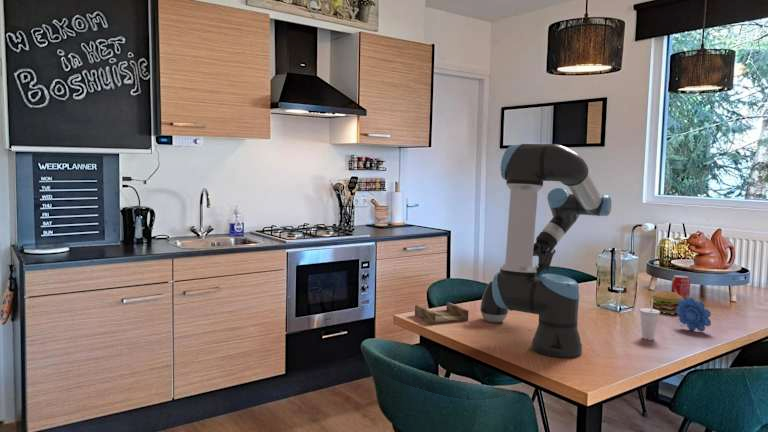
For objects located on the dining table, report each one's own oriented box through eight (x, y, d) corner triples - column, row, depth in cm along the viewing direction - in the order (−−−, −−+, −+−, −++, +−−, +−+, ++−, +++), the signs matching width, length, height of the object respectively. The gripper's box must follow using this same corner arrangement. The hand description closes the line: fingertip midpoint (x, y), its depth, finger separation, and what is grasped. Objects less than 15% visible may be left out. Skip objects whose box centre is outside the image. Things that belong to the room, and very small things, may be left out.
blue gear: (670, 329, 205) (673, 296, 204) (676, 325, 210) (678, 294, 209) (706, 336, 197) (709, 302, 196) (712, 332, 202) (714, 299, 201)
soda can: (672, 300, 252) (673, 274, 251) (690, 303, 248) (691, 276, 247) (669, 303, 246) (671, 276, 245) (687, 306, 242) (689, 278, 241)
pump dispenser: (508, 325, 205) (510, 284, 204) (479, 323, 207) (481, 282, 206) (508, 318, 215) (509, 279, 214) (480, 316, 217) (481, 277, 216)
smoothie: (657, 342, 189) (659, 301, 188) (636, 338, 192) (638, 298, 191) (659, 337, 194) (661, 297, 193) (639, 334, 198) (641, 295, 196)
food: (687, 317, 224) (688, 297, 223) (648, 312, 230) (649, 292, 230) (688, 310, 235) (689, 291, 235) (651, 305, 242) (652, 287, 242)
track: (468, 321, 210) (468, 310, 210) (432, 324, 204) (433, 314, 204) (448, 312, 223) (448, 302, 223) (414, 315, 217) (415, 305, 216)
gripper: (578, 248, 209) (543, 290, 204) (534, 239, 232) (502, 278, 227) (567, 234, 207) (532, 277, 202) (524, 227, 229) (491, 265, 224)
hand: (516, 277), depth 214 cm, fingers open, 13 cm apart
